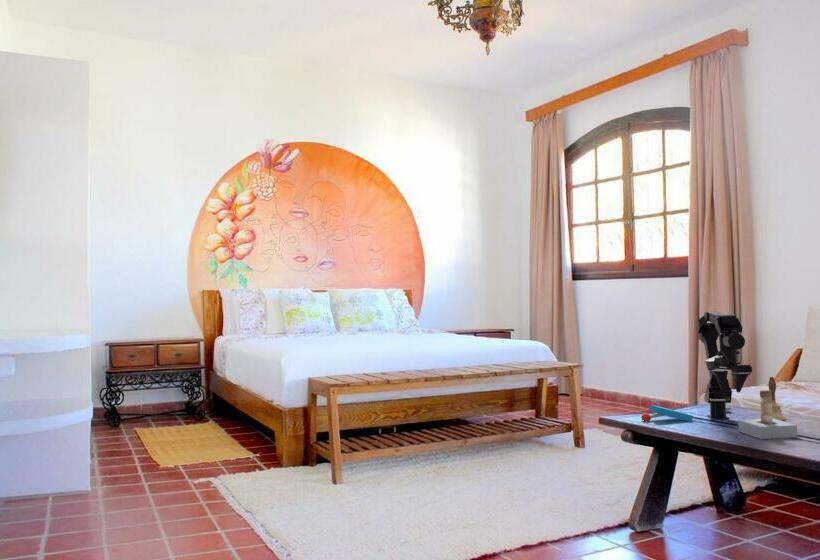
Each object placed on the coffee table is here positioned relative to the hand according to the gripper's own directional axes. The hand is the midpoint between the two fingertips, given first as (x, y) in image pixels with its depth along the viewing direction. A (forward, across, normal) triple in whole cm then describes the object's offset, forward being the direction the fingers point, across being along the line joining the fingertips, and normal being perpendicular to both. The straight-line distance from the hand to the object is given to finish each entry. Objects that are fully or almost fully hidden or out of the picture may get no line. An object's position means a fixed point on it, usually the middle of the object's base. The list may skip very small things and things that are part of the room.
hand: (730, 391), depth 253 cm
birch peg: (+14, +15, +3) cm, 20 cm away
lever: (+13, -18, -16) cm, 27 cm away
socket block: (+14, +15, +3) cm, 20 cm away
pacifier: (+12, -28, +15) cm, 34 cm away
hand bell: (+12, -9, +24) cm, 28 cm away
